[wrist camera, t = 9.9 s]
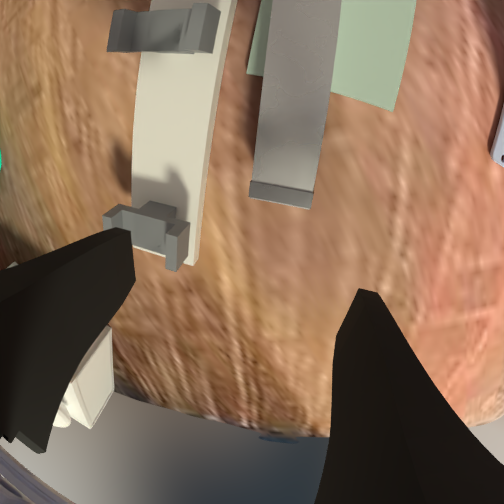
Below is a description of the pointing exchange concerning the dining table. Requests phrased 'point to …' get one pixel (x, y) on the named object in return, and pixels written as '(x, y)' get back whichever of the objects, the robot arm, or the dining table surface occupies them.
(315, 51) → the rail
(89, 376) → the butter dish
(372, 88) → the mat
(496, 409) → the dining table surface
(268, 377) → the dining table surface
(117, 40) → the standards
